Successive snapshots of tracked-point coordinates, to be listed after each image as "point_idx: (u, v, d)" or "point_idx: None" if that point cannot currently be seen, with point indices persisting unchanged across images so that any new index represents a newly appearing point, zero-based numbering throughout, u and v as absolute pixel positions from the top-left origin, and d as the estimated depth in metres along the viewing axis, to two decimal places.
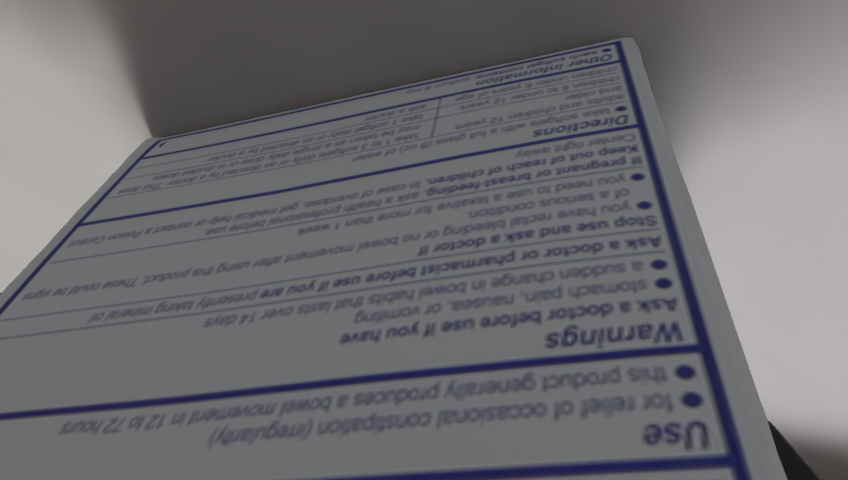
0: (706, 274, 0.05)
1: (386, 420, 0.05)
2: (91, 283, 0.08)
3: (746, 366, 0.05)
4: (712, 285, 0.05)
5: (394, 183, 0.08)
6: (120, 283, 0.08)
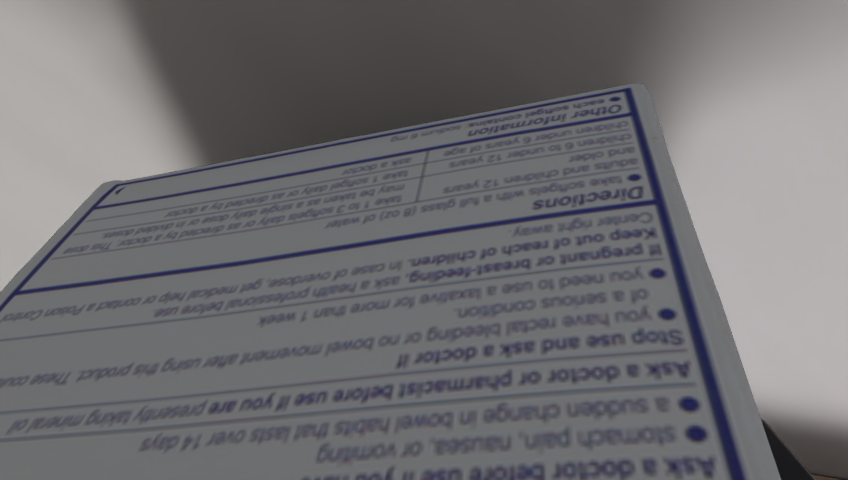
0: (749, 423, 0.04)
1: None
2: (18, 375, 0.07)
3: None
4: (758, 440, 0.04)
5: (372, 260, 0.07)
6: (52, 378, 0.06)
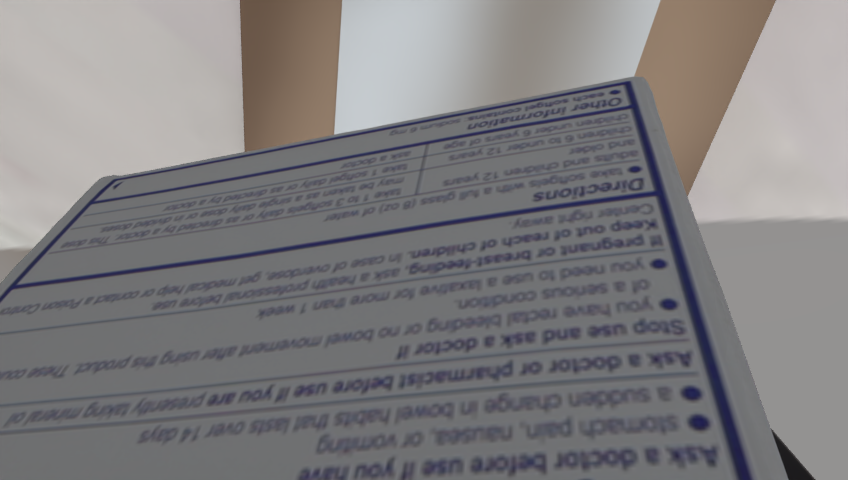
0: (752, 412, 0.04)
1: None
2: (15, 369, 0.07)
3: None
4: (760, 429, 0.04)
5: (372, 253, 0.07)
6: (49, 372, 0.06)
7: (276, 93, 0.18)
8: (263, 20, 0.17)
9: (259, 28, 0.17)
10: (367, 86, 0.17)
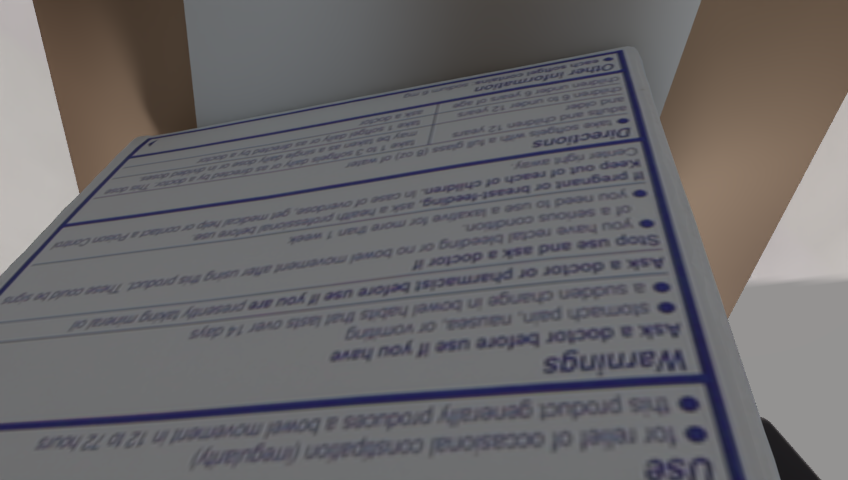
0: (710, 299, 0.05)
1: (375, 445, 0.05)
2: (74, 288, 0.07)
3: (752, 400, 0.04)
4: (716, 311, 0.05)
5: (389, 192, 0.08)
6: (104, 289, 0.07)
7: (108, 110, 0.11)
8: None
9: (62, 6, 0.10)
10: (240, 96, 0.11)
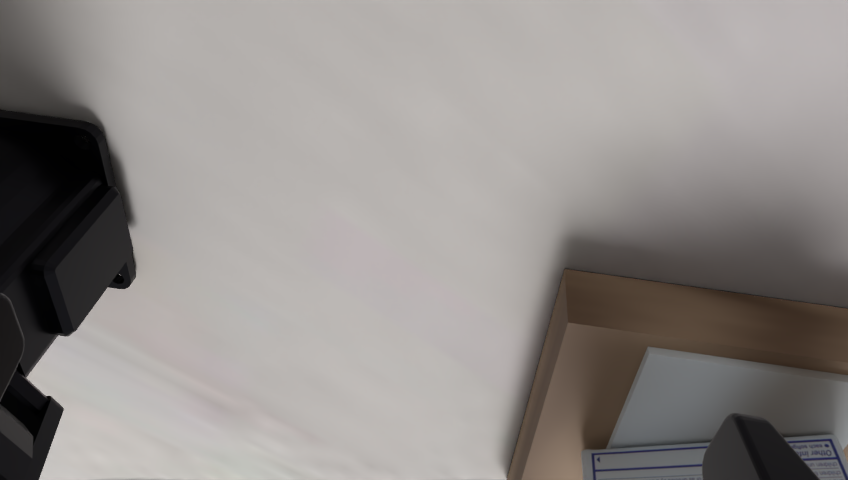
0: None
1: None
2: None
3: None
4: None
5: None
6: None
7: (561, 433, 0.24)
8: (563, 397, 0.22)
9: (559, 400, 0.23)
10: (638, 437, 0.23)
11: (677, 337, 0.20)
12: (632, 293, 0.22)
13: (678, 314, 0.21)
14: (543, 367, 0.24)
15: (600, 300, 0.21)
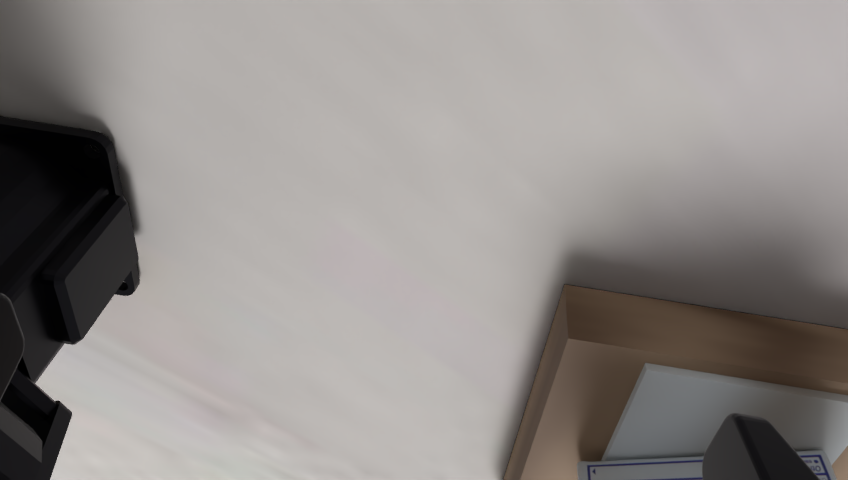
0: None
1: None
2: None
3: None
4: None
5: None
6: None
7: (557, 445, 0.24)
8: (561, 410, 0.23)
9: (557, 413, 0.23)
10: (633, 450, 0.23)
11: (674, 354, 0.21)
12: (630, 309, 0.22)
13: (675, 331, 0.22)
14: (541, 380, 0.24)
15: (599, 316, 0.22)
